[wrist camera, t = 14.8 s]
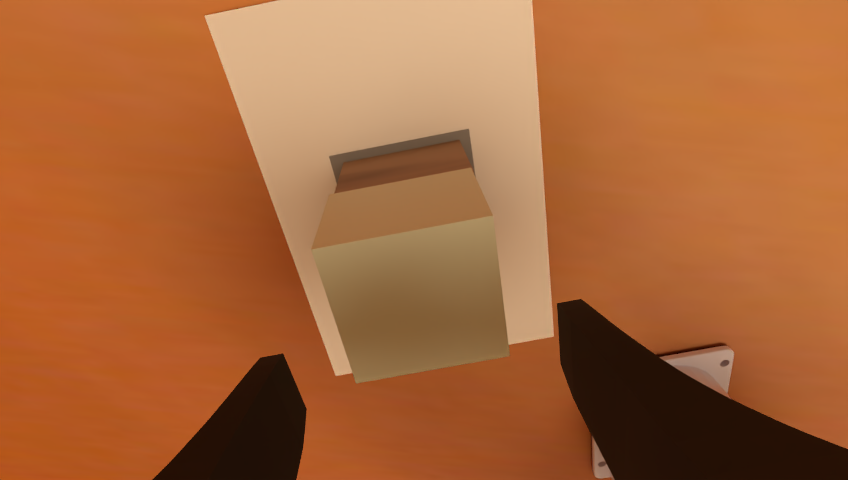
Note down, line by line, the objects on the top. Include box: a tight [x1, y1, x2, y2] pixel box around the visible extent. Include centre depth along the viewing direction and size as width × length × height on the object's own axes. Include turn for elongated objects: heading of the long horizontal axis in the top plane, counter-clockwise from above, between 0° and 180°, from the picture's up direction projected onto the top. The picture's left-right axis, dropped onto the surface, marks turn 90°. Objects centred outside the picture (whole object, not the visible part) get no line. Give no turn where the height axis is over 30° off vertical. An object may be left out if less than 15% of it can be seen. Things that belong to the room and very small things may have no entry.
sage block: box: [311, 168, 510, 383], centre depth 15 cm, size 5×5×4 cm
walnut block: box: [334, 140, 474, 194], centre depth 19 cm, size 5×5×4 cm
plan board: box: [205, 0, 554, 376], centre depth 21 cm, size 18×12×1 cm, turn 10°
